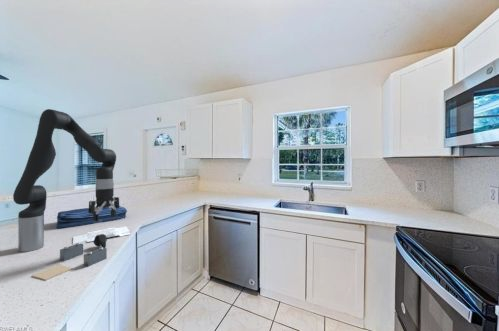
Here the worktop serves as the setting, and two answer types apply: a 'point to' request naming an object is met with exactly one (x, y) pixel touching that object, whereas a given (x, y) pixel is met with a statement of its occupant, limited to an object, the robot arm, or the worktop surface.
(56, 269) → the mat
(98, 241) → the power plug
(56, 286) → the worktop surface
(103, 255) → the metal blocks
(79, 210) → the towel
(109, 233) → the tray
